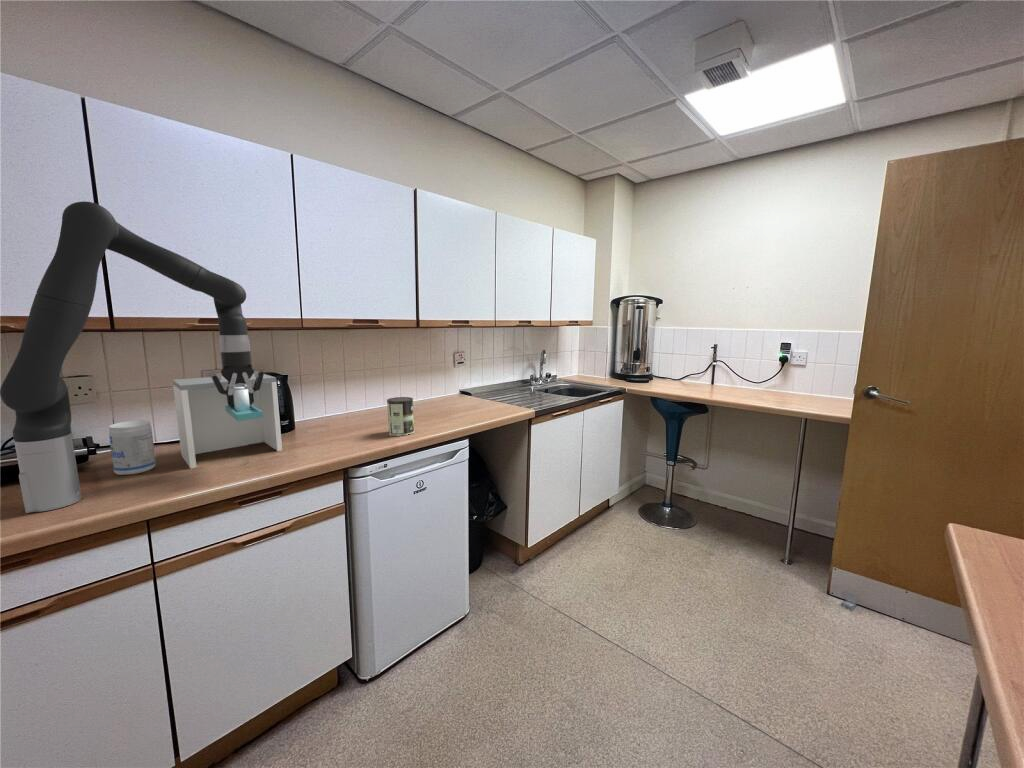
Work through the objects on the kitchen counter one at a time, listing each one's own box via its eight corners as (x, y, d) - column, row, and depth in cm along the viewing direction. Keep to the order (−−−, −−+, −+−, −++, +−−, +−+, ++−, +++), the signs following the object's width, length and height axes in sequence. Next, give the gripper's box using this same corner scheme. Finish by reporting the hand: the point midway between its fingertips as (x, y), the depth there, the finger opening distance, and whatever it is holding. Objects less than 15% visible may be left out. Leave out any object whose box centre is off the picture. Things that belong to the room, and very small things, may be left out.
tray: (263, 417, 122) (260, 392, 121) (237, 421, 117) (234, 394, 116) (249, 408, 135) (247, 385, 134) (225, 411, 130) (223, 387, 129)
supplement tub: (105, 475, 123) (98, 426, 121) (138, 464, 132) (131, 419, 130) (133, 476, 121) (127, 428, 119) (164, 465, 131) (158, 420, 129)
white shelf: (190, 468, 128) (180, 385, 124) (181, 455, 141) (172, 379, 137) (282, 450, 146) (276, 377, 143) (267, 440, 159) (261, 373, 155)
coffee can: (412, 428, 176) (411, 396, 174) (416, 434, 167) (414, 400, 165) (387, 431, 172) (385, 397, 170) (389, 437, 163) (388, 402, 161)
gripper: (209, 352, 117) (216, 411, 120) (265, 349, 127) (270, 404, 130) (204, 350, 122) (210, 407, 125) (258, 348, 132) (263, 401, 135)
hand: (241, 405), depth 127 cm, fingers closed on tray, 4 cm apart
